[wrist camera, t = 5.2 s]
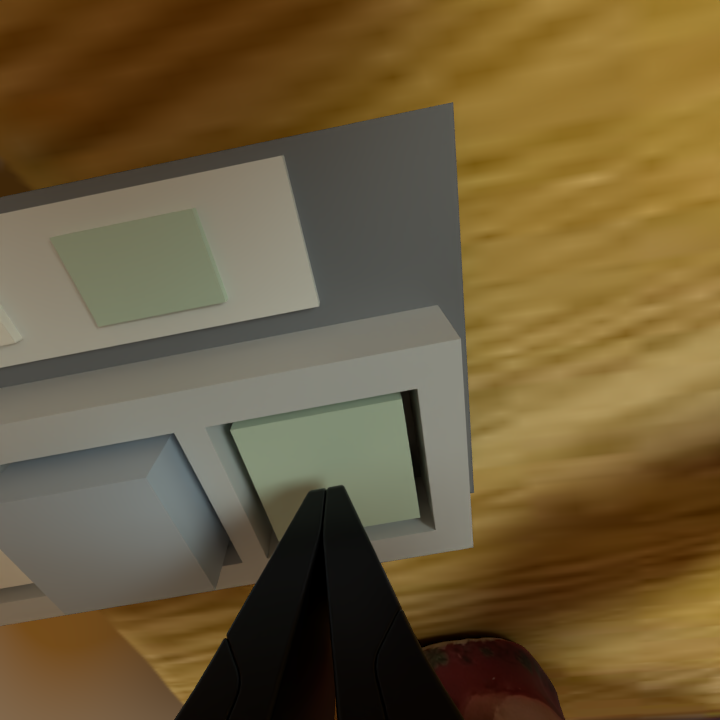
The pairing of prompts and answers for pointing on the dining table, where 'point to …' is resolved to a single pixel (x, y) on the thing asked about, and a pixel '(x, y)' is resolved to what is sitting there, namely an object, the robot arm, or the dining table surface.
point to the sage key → (332, 458)
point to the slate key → (111, 525)
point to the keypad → (245, 317)
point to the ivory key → (11, 573)
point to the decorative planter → (494, 680)
